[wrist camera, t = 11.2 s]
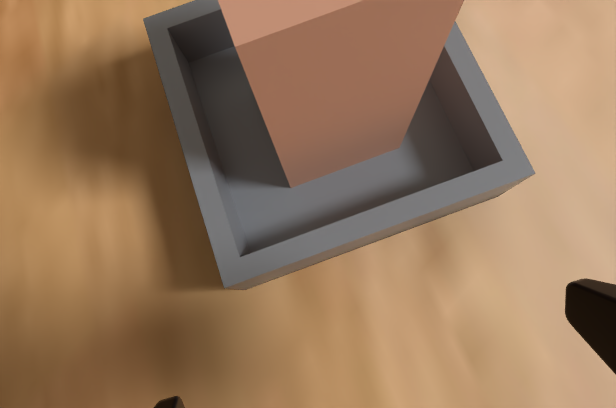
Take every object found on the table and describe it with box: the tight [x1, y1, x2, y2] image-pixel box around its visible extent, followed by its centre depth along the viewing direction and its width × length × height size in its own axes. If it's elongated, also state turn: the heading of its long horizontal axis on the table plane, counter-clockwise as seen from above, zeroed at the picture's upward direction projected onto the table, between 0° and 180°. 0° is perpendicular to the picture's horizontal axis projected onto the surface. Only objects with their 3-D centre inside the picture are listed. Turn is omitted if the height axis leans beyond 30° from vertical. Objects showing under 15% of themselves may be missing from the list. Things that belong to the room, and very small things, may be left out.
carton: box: [218, 0, 464, 188], centre depth 16 cm, size 6×6×12 cm
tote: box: [143, 0, 535, 290], centre depth 20 cm, size 14×14×4 cm
